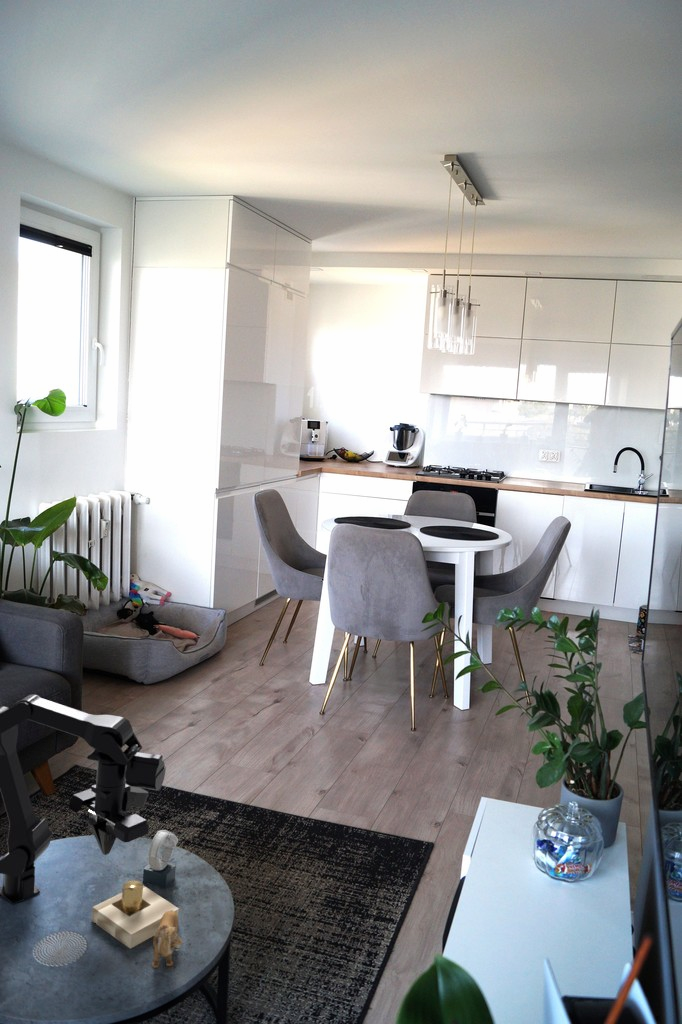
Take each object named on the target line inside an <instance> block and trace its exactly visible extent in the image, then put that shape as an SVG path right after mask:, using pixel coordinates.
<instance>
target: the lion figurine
mask: <svg viewBox="0 0 682 1024" xmlns="http://www.w3.org/2000/svg"><path fill="white" fill-rule="evenodd" d="M178 929H179V916H178V917H177V913H176V912H174V911H173V910H170V911H167V912H165V913H164V914H163V916H162V918H161V923H160V926H159V928H158V931H157V932H156V933H155V935H154V936H152V937H153V939H152V949H153V962H152V964H151V967H152V968H153V969H155V968H156V969H157V968H158V967H159V964H160V958H159V957H162V958H163V957H165V963H166V966H167V967H171V966H173V965H174V962H173V960H172V954H173V952H174V951H178V950H180V947H181V946H182V945H183V944H184V941H182V940H181V939H180V937H179V936H178V935H179V934H178Z"/></svg>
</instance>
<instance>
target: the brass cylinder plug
mask: <svg viewBox="0 0 682 1024" xmlns="http://www.w3.org/2000/svg"><path fill="white" fill-rule="evenodd" d="M143 886H144V883H143V882H141V881H139V880H128V881H126V882H124V883H123V884H122V892H121V893H122V903H121V911H122V912H123V913H125V914H126V915H128V916H131V915H133V914H135V913H137V912H139V911H141V907H142V894H143Z"/></svg>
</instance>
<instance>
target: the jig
mask: <svg viewBox="0 0 682 1024" xmlns="http://www.w3.org/2000/svg"><path fill="white" fill-rule="evenodd" d="M121 903H122V892H120V893H118V894H116V895H115V896H112V897H110V898H108V899H105V900H104V901H102V902H100V903H97V904H96V905H94V906H93V907H92V910H91V911H92V912H91V922H93V923H94V924H95V923H96V924H95V925H97V926H98V927H99V928H101V929H102V930H103V931H105V932H107V933H108V934H109V935H111V936H112V937H113V938H114V939H116V940H118V941H119V942H120V943H121V944H123V945H124V946H126V947H127V948H129V949H133V948H135V947H136V946H138V945H139V944H142V943H144V942H145V941H147V940H149V939H151V938H152V937H154V935H155V933H156V932H157V931H158V928H159V926H160V923H161V918H162V916H163V914H164V913H165V912H167V911H170V910H173V911H174V912H176V913H177V917H178V918H179V912H180V907H177V906H176V905H174V904H172V903H171V902H170V901H168V900H167V899H165V898H163V897H162V896H160V895H159V894H157V893H156V892H155V891H152V889H150V888H148V887H147V886H145V885H143V894H142V907H141V911H139V912H137V913H135V914H133V915H131V916H128V915H126V914H125V913H123V912H122V911H121Z"/></svg>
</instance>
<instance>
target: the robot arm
mask: <svg viewBox="0 0 682 1024" xmlns="http://www.w3.org/2000/svg"><path fill="white" fill-rule="evenodd" d="M25 720H28V721H31V722H35V723H37V724H40V725H43V726H46V727H49V728H52V729H55V730H58V731H61V732H65V733H67V734H68V735H69V734H70V735H72V736H76V737H78V738H80V739H82V740H84V742H86V743H87V744H88V745H89V747H90V748H92V749H94V750H92V751H91V752H90V753H89V754H88V755H87V757H86V759H88V760H91V761H95V762H96V761H97V765H96V781H95V782H96V783H95V784H93V785H91V787H90V788H89V789H85V790H83V791H80V792H77V793H74V794H73V795H72V796H71V798H70V799H69V804H68V805H69V806H68V809H69V810H71V811H72V812H74V813H75V814H78V813H80V812H82V809H83V806H85V807H87V808H88V810H87V812H88V813H89V817H88V818H86V819H85V822H86V824H88V826H89V828H90V830H91V832H92V834H93V836H94V838H95V840H96V842H97V845H98V846H99V848H100V851H101V853H102V855H104V856H107V855H108V854H110V852H111V851H112V848H113V846H114V844H115V841H116V840H119V841H121V842H123V843H130V842H132V841H134V840H136V839H139V838H141V837H143V836H146V835H149V832H150V821H148V820H147V819H146V818H143V817H142V816H140V815H139V814H137V813H134V814H131V815H129V813H127V812H129V811H132V807H133V808H134V807H137V808H140V809H144V807H145V804H146V802H147V798H148V797H149V791H147V790H152V791H157V792H158V791H159V790H160V789H161V788H162V786H163V783H164V780H165V776H166V771H167V769H166V766H165V761H164V760H163V755H162V754H155V753H154V754H152V753H147V752H141V750H142V749H143V746H142V744H141V743H140V741H139V740H138V739H139V738H137V736H136V735H135V733H134V729H133V727H132V724H131V723H130V720H129V719H127V718H126V717H123V716H119V715H113V714H90V713H87V712H85V711H81V710H79V709H76V708H73V707H69V706H67V705H63V704H60V703H58V702H54V701H51V700H48V699H45V698H42V697H41V696H40V695H38V694H33V693H31V694H28V695H27V696H26V697H24V698H22V699H21V700H17V701H16V702H15V703H13V704H11V705H9V706H4V705H3V706H0V794H1V798H2V801H3V805H4V808H5V811H6V814H7V818H8V823H9V828H8V833H7V834H8V835H7V840H6V843H7V850H8V851H7V852H6V853H5V855H3V856H2V857H1V858H0V875H1V874H2V875H3V879H2V885H1V886H0V896H1V897H3V898H4V900H6V901H7V900H8V902H9V903H10V904H11V903H12V905H14V904H13V903H15V904H17V903H19V901H20V902H22V901H23V899H24V900H26V899H28V898H31V897H32V896H35V895H36V894H39V893H41V888H39V887H38V886H36V885H35V883H36V876H35V875H36V872H35V871H36V867H35V862H36V861H37V860H38V859H39V857H40V856H42V854H43V853H44V852H45V851H47V849H48V848H49V846H50V844H51V837H52V836H53V833H52V831H50V828H49V827H50V826H49V820H48V818H47V817H45V818H39V817H38V816H37V815H36V814H35V812H34V809H33V805H32V802H31V798H30V794H29V791H28V788H27V784H26V780H25V776H24V772H23V769H22V766H21V762H20V759H19V755H18V752H17V742H18V736H19V724H20V723H22V722H24V721H25ZM125 746H127V748H126V749H125V750H123V747H125ZM145 789H146V790H145ZM21 900H22V901H21ZM16 902H17V903H16Z"/></svg>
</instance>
